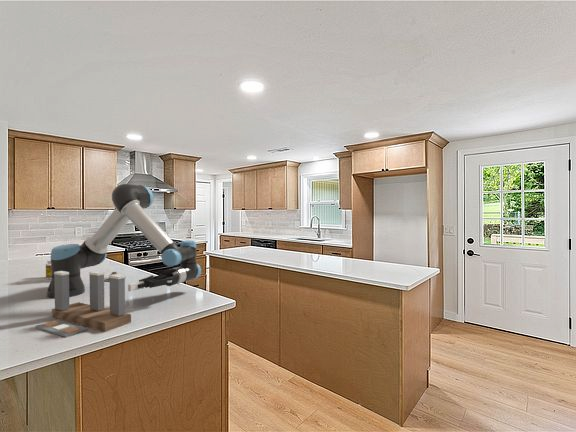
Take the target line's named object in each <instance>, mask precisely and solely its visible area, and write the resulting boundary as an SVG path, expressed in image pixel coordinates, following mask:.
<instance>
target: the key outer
mask: <svg viewBox="0 0 576 432" xmlns="http://www.w3.org/2000/svg"><path fill="white" fill-rule="evenodd" d="M108 277H109V279H110V280H109V309H110V314H113V315H117V316H120V315H123V314H125V313H126V293H125V292H126V287H125V286H126V283H125V282H126V281H125V280H126V278H125V277H126V275H123V274H119V275H118V274H114V275H110V274H109V276H108Z"/></svg>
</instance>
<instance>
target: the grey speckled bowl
mask: <svg viewBox="0 0 576 432" xmlns="http://www.w3.org/2000/svg"><path fill="white" fill-rule="evenodd" d="M114 274H118V272H117V271H112V272H111V273H110V274H109V275H114ZM118 275H120V274H118ZM125 279H127V277H126V276H125ZM109 281H110V279H109V276H107V277H104V282H109Z"/></svg>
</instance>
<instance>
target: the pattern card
mask: <svg viewBox="0 0 576 432" xmlns="http://www.w3.org/2000/svg"><path fill="white" fill-rule="evenodd" d="M35 329H37V330H41V331H44V332H47V333H50V334H54V335H57V336H60V337H63V338H68V337H71V336H74V335H76V334H80V333H83V332H86V331H87V330H88V327H85V326H80V325H78V324H74V323H71V322H70V323H69V322H67V321H64V320H60V319H56V320H55V319H54V320H52V321H49V322H45V323H42V324H37V325H35Z"/></svg>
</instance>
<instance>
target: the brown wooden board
mask: <svg viewBox="0 0 576 432" xmlns="http://www.w3.org/2000/svg"><path fill="white" fill-rule="evenodd" d="M51 317H52V318H56V319H57V320H61V321H64V322H68V323H69V322H70V323H71V324H75V325H78V326H80V325H81V326H82V327H85V328H90V329H94V330H97V331H101V332H104V333H106V332H109V331H111V330H114V329H117V328H119V327H122V326H125V325H129V324H131V323H132V314H130V313H127V312H125V314H123V315H120V316H117V315H113V314H110V308H105V307H104V309H103V310H100V311H96V310H92V309H90V304H88V303H83V302H80V301H79V302H74V303H71V304H70V303H69V309H67V310H63V311H62V310H58V309H55V307H54V308H52V309H51Z"/></svg>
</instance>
